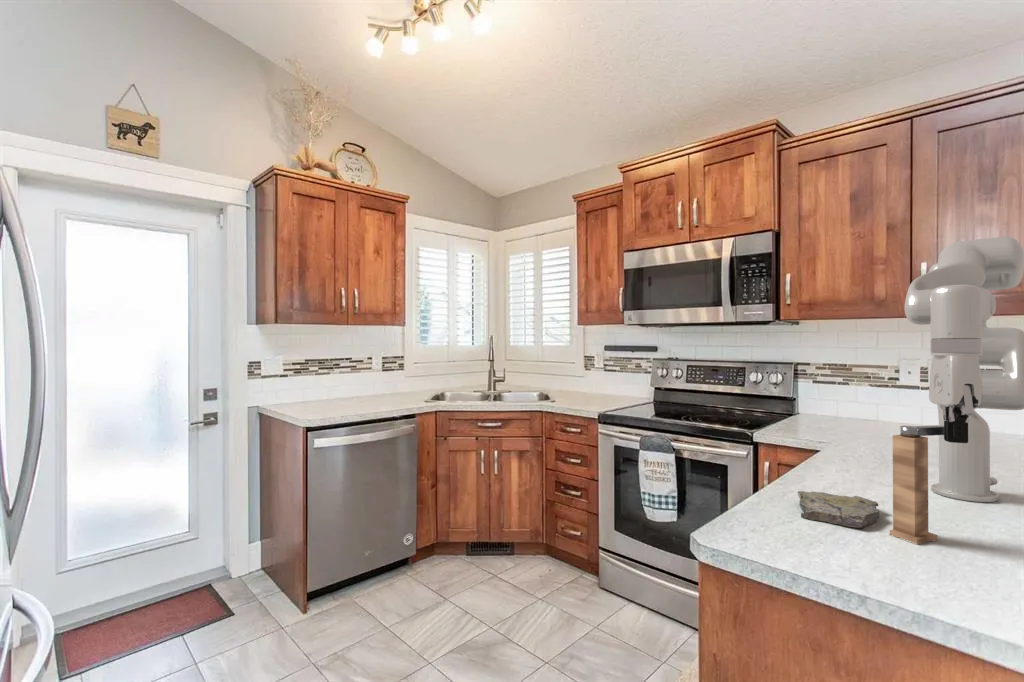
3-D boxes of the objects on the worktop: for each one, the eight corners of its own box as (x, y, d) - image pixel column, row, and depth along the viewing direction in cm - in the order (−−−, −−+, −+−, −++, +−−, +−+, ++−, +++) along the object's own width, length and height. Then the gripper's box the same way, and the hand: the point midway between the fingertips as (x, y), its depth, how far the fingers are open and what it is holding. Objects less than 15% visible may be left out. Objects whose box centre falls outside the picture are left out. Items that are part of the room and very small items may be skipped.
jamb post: (909, 531, 102) (909, 433, 102) (937, 540, 98) (937, 438, 98) (889, 535, 100) (889, 435, 100) (917, 544, 96) (916, 440, 96)
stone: (881, 536, 101) (881, 519, 101) (794, 520, 109) (794, 504, 109) (876, 511, 116) (876, 496, 116) (800, 499, 124) (800, 485, 124)
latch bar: (910, 437, 98) (910, 428, 98) (896, 434, 101) (896, 425, 101) (966, 435, 100) (966, 426, 100) (950, 432, 103) (950, 423, 103)
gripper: (916, 348, 106) (916, 434, 106) (949, 348, 92) (950, 447, 92) (960, 348, 103) (961, 437, 103) (1001, 348, 89) (1002, 451, 89)
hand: (955, 441), depth 98 cm, fingers closed
